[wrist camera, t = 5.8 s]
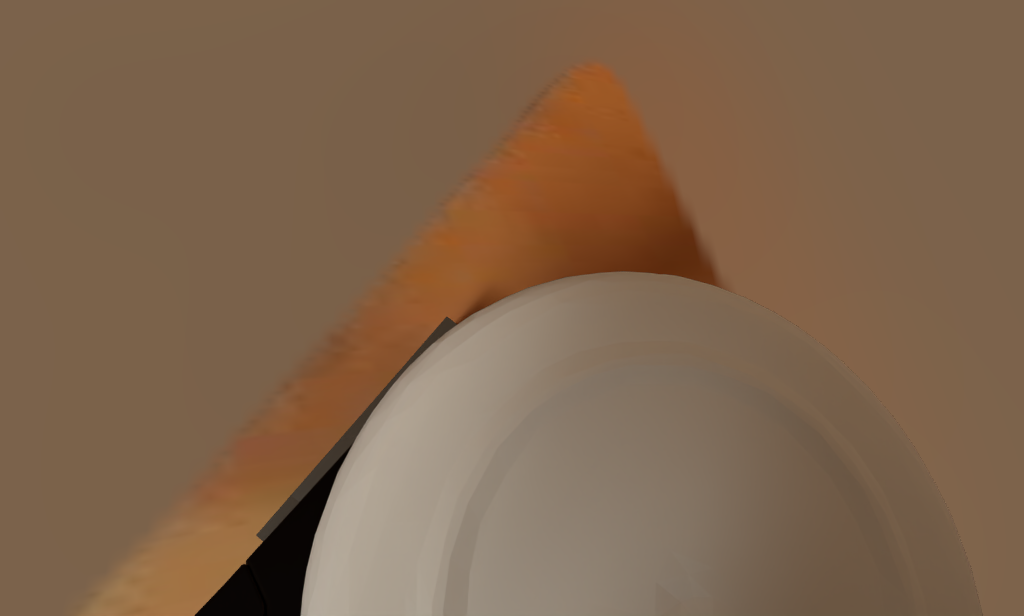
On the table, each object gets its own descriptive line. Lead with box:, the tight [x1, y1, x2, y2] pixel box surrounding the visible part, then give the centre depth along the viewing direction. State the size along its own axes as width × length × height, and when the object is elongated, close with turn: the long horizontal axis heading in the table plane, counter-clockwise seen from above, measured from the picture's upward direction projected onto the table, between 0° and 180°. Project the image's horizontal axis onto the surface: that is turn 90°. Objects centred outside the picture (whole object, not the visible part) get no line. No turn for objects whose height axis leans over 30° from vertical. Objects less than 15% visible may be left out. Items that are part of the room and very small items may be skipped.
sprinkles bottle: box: [301, 271, 983, 616], centre depth 9 cm, size 5×5×14 cm
